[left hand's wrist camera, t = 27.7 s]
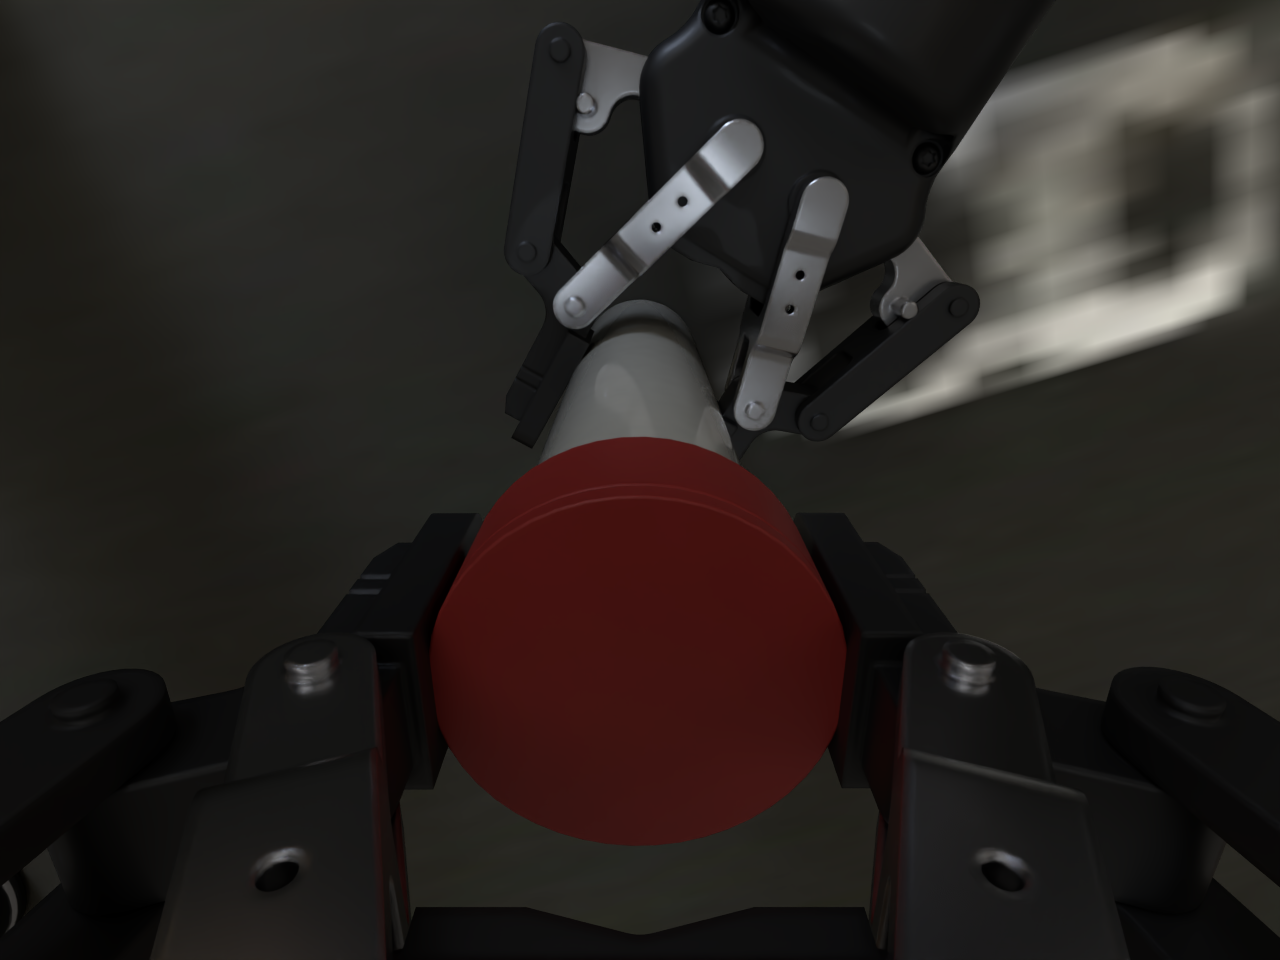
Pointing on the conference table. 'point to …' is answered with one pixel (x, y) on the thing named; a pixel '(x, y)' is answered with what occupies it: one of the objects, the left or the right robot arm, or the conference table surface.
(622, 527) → the lid
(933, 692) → the left robot arm
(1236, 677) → the conference table surface
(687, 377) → the white tall cylinder
